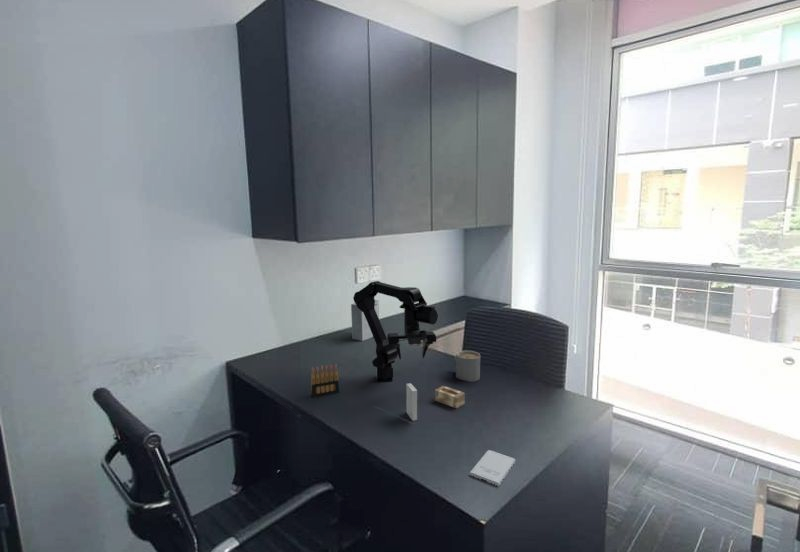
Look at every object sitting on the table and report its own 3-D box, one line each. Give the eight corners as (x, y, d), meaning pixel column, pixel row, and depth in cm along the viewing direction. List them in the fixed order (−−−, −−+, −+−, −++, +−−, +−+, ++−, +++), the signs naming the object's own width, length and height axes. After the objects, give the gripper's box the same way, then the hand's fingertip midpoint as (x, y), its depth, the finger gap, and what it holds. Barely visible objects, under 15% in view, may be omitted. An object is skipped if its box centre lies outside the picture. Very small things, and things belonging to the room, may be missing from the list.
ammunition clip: (311, 397, 154) (310, 367, 152) (310, 395, 156) (309, 365, 154) (339, 392, 158) (338, 363, 156) (338, 390, 160) (337, 361, 158)
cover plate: (406, 413, 142) (406, 383, 140) (410, 413, 142) (410, 383, 140) (412, 422, 136) (412, 391, 134) (417, 421, 137) (417, 390, 135)
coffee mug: (483, 380, 169) (484, 357, 168) (462, 383, 166) (462, 359, 165) (469, 368, 182) (469, 347, 180) (448, 371, 179) (449, 349, 177)
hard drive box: (369, 332, 237) (369, 298, 234) (380, 334, 232) (379, 300, 229) (351, 339, 224) (350, 303, 221) (362, 341, 220) (361, 305, 217)
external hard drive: (515, 464, 114) (498, 488, 104) (487, 454, 119) (469, 476, 109) (515, 458, 114) (499, 482, 104) (488, 449, 119) (469, 471, 109)
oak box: (434, 401, 151) (434, 390, 150) (443, 396, 154) (443, 385, 154) (456, 409, 144) (456, 397, 144) (464, 404, 148) (464, 392, 147)
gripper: (390, 327, 149) (390, 367, 152) (439, 324, 152) (439, 364, 154) (386, 319, 160) (387, 357, 163) (433, 317, 163) (432, 354, 165)
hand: (411, 358), depth 161 cm, fingers open, 9 cm apart
